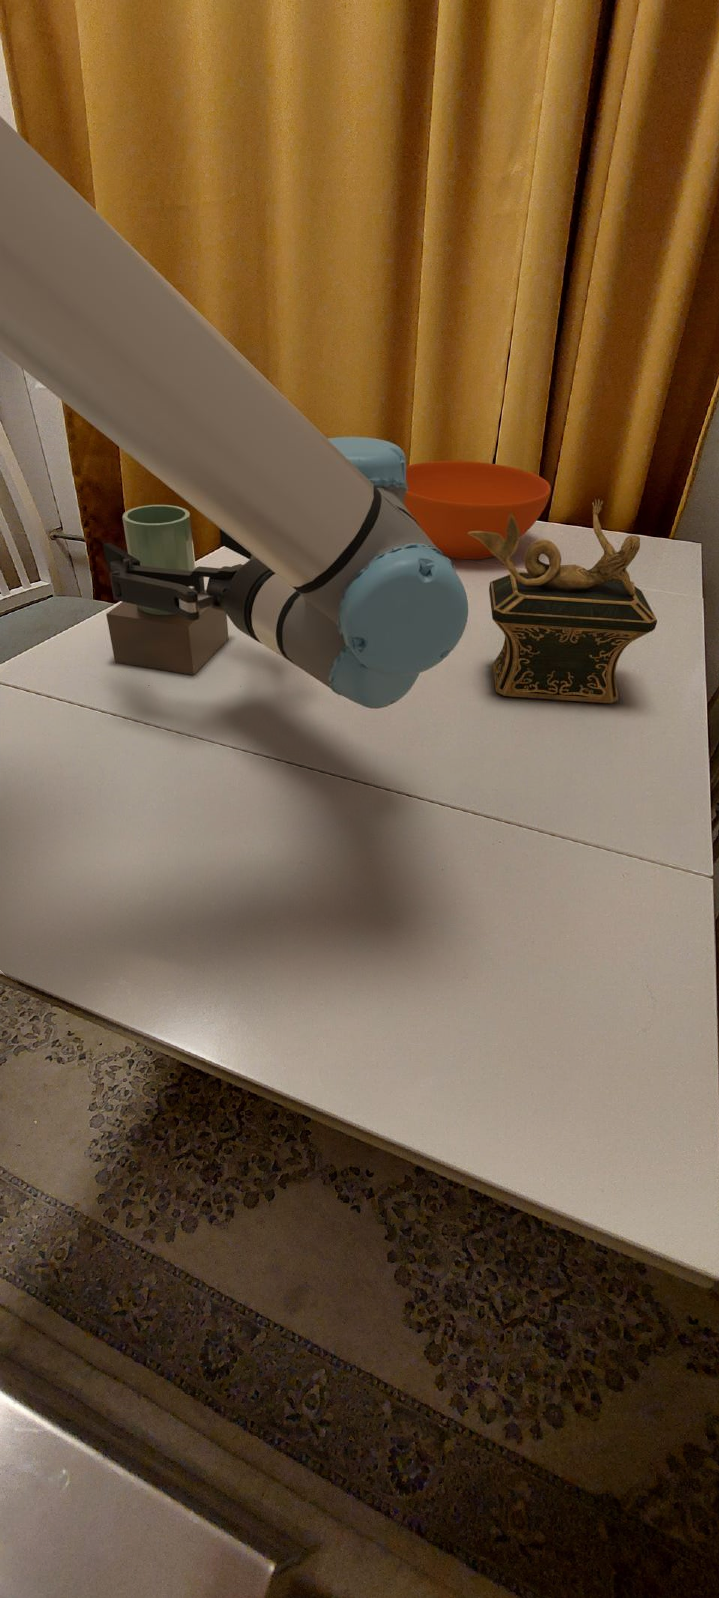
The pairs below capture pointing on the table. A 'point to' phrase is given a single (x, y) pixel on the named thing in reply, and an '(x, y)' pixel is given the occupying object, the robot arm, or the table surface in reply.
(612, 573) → the decorative box
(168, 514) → the cup
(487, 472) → the bowl
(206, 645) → the block
